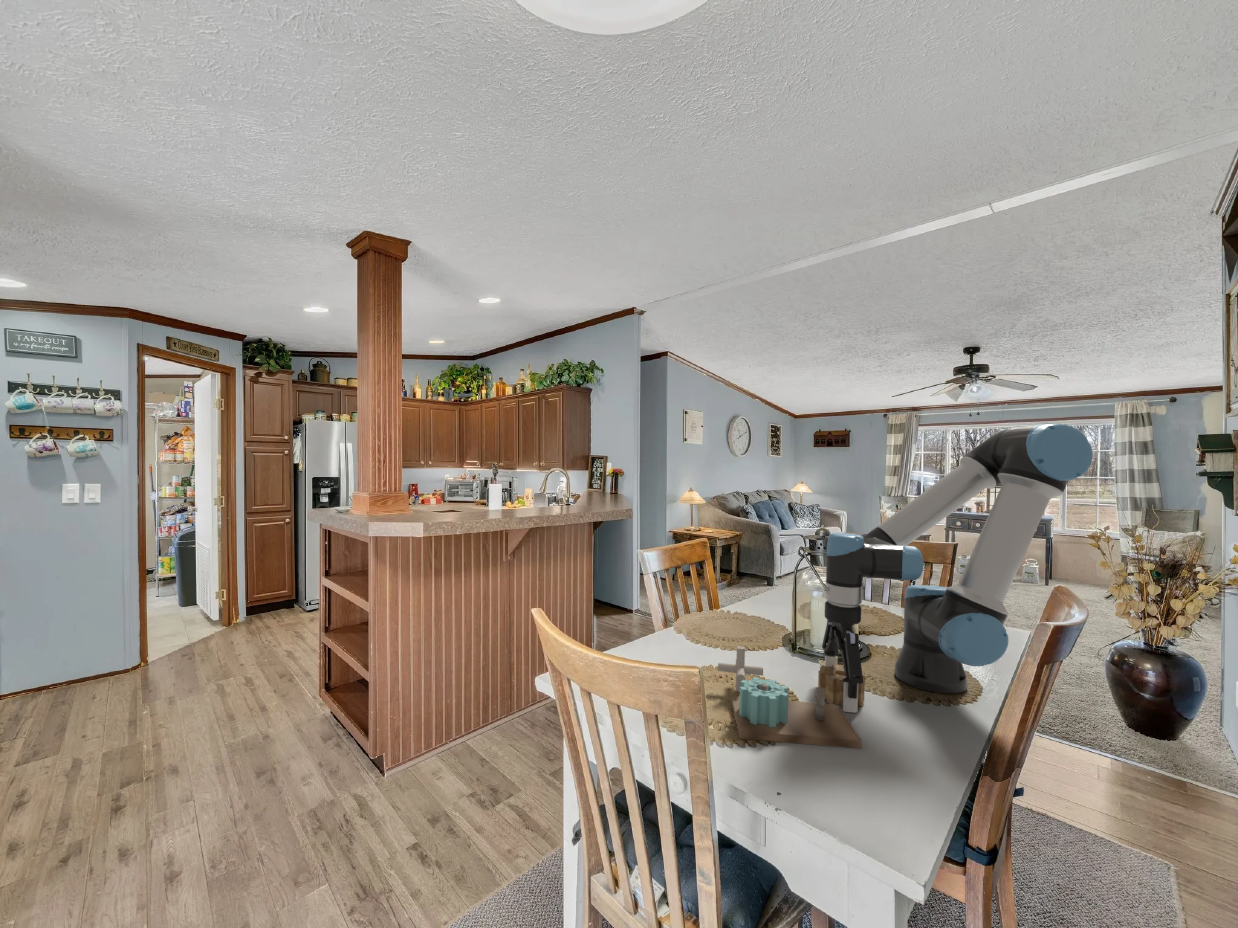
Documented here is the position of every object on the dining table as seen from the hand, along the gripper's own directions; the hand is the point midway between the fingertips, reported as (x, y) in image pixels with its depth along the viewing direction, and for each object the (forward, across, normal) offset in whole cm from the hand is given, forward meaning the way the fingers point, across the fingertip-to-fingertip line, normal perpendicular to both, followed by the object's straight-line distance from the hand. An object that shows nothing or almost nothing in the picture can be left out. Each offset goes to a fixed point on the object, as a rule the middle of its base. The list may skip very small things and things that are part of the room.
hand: (839, 696), depth 116 cm
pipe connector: (0, 0, -22) cm, 22 cm away
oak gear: (0, 0, 0) cm, 0 cm away
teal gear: (-1, +14, -19) cm, 24 cm away
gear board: (0, +14, -14) cm, 20 cm away
